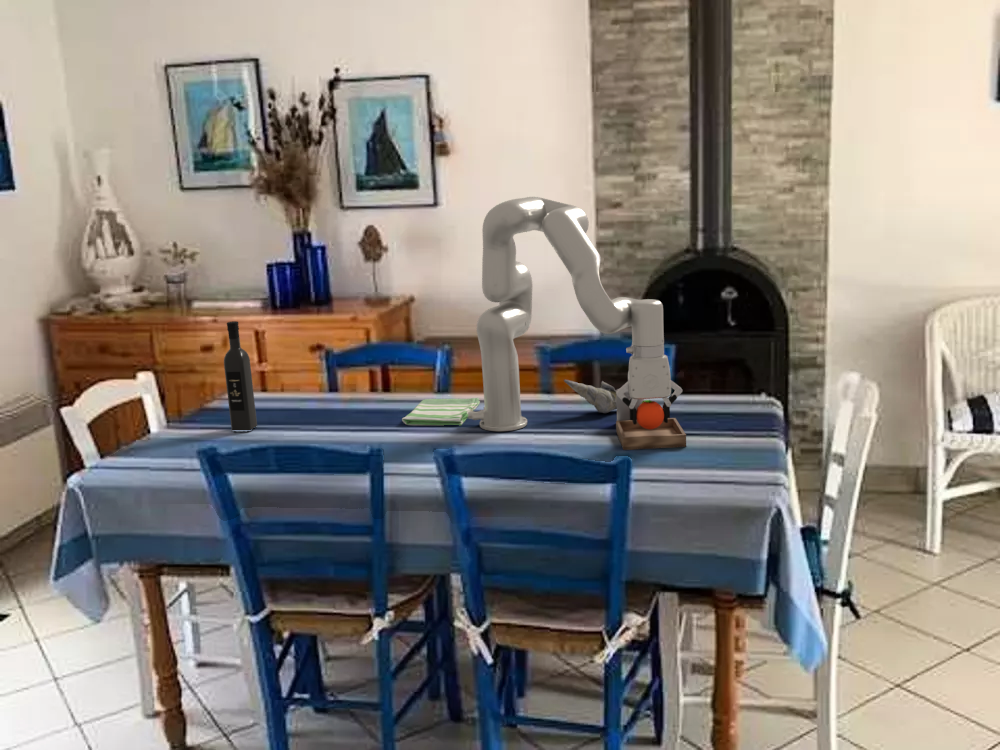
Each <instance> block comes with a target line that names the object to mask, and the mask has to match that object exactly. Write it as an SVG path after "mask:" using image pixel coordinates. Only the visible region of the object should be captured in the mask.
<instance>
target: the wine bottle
mask: <svg viewBox="0 0 1000 750" xmlns="http://www.w3.org/2000/svg"><path fill="white" fill-rule="evenodd" d="M239 327H240V325H239V321H238V320H237V321H236V320H234V321H228V322H226V328H227V329H226V330H227V333H228V343H229V350H227V352H226V353H225V355H224V356H223V368H224V376H225V377H224V378H225V385H226V391H227V392H226V393H227V394H226V395H227V402H228V409H229V418H230V428H231V431H232V430H251V429H253V428H254V427H256V426H257V427H258V421H257V412H256V404H255V396H254V395H255V394H254V385H253V378H252V377H253V376H252V369H251V367H252V366H251V359H250V356H249V354H248V352H247V351H246V350H245V349H243V348H242V346H241V341H240V339H241V338H240V332H239V330H240V328H239ZM257 427H256V428H257ZM253 430H254V429H253Z"/></svg>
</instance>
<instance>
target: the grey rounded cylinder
mask: <svg viewBox="0 0 1000 750" xmlns="http://www.w3.org/2000/svg"><path fill="white" fill-rule="evenodd" d="M619 389H620V388H617V389H615V391H616V392H617V391H618V390H619ZM624 396H625V397H627V398H628V399H629V400H630V398H631V397H630V395H629V393H628V390H627V391H626V392H624ZM642 401H645V399H638V400H637V402H636V404H635V408H636V411H637V408H638V407H639V405H640V404H642ZM616 404H617V409H616V421H626V420H630V410H629V407H628V406H627V405H626V404H625V403H624V402H623V401H622V400H621V399H620V398H619V397H618V396H617V394H616Z"/></svg>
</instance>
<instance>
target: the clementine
mask: <svg viewBox="0 0 1000 750" xmlns="http://www.w3.org/2000/svg"><path fill="white" fill-rule="evenodd" d="M636 415H637V422H638V423H639V425H640V426H642V427H643V428H646V429H654V428H657V427H658V426H660V425H661V423H662V422H663V420H664V411H663V406H661V404H659V403H658V402H657V401H654V400H650V399H645V400H644V401H642V404H640V405H639V407H638V408H637V411H636Z"/></svg>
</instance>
